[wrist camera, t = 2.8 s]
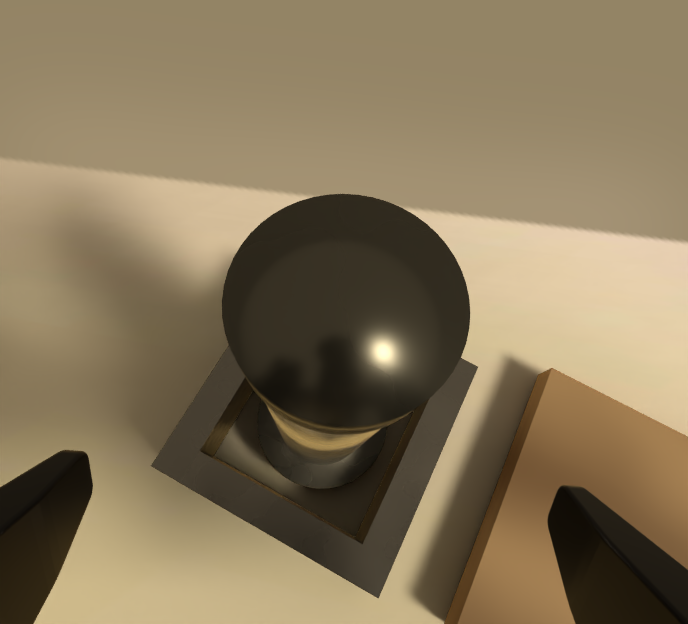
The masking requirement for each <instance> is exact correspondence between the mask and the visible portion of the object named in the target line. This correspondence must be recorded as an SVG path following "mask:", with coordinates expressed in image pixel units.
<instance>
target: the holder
mask: <svg viewBox="0 0 688 624" xmlns="http://www.w3.org/2000/svg"><path fill="white" fill-rule="evenodd" d="M477 368H478V367H477V366H475V365H473V364H472V363H470V362H468V361H466V360H464V359H462V358H460V360H459V362H458V364H457V366H456V367H455V369H454V371H453V373H452V374H451V375H450V377H449V378H448V379H447V381H446V382H445V383H444V385H443V386H442V387H441V388H440V389H439V390H438V391H437V392H436V393H435V394H434V395H433V396H432V397H430V398H429V399H428V400H426V401H425V402H424V403H422V404H421V405H420V406H418V407H417V408H416V409H415V410H414V412H413V414H412V416H411V418H410V421H409V423H408V425H407V427H406V429H405V431H404V433H403V436H402V438H401V440H400V442H399V444H398V446H397V449H396V451H395V453H394V455H393V457H392V459H391V461H390V464H389V466H388V468H387V470H386V472H385V474H384V476H383V479H382V481H381V483H380V485H379V487H378V489H377V491H376V494H375V496H374V498H373V500H372V502H371V504H370V506H369V509H368V511H367V513H366V515H365V517H364V519H363V521H362V524H361V526H360V528H359V530H358V532H357V534H356V536H355V537H354V536H352V535H350V534H349V533H347V532H345V531H343V530H342V529H340V528H338V527H336V526H335V525H333V524H331V523H329V522H328V521H326V520H324V519H322V518H321V517H319V516H317V515H315V514H314V513H312V512H310V511H308V510H307V509H305V508H303V507H301V506H300V505H298V504H296V503H294V502H293V501H291V500H289V499H287V498H286V497H284V496H282V495H280V494H279V493H277V492H275V491H273V490H272V489H270V488H268V487H266V486H265V485H263V484H261V483H259V482H258V481H256V480H254V479H252V478H251V477H249V476H247V475H245V474H244V473H242V472H240V471H238V470H237V469H235V468H233V467H231V466H230V465H228V464H226V463H224V462H223V461H221V460H219V459H217V458H216V457H214V455H215V453H216V451H217V450H218V448H219V446H220V445H221V443H222V441H223V440H224V438H225V436H226V435H227V433H228V431H229V430H230V428H231V426H232V425H233V423H234V422H235V420H236V418H237V417H238V415H239V413H240V412H241V410H242V408H243V407H244V405H245V403H246V402H247V400H248V398H249V397H250V395H251V393H252V392H253V388H252V387H251V385H250V384H249V382H248V381H247V379H246V378H245V376H244V374H243V372H242V371H241V369H240V367H239V365H238V363H237V361H236V359H235V357H234V355H233V353H232V351H231V349H230V346H228V348H227V349H226V351H225V352H224V354H223V355H222V357H221V358H220V360H219V362H218V363H217V365H216V366H215V368H214V369H213V371H212V372H211V374H210V375H209V377H208V379H207V380H206V382H205V383H204V385H203V386H202V388H201V389H200V391H199V392H198V394H197V396H196V397H195V399H194V400H193V402H192V403H191V405H190V406H189V408H188V409H187V411H186V413H185V414H184V416H183V417H182V419H181V420H180V422H179V423H178V425H177V426H176V428H175V430H174V431H173V433H172V434H171V436H170V437H169V439H168V440H167V442H166V443H165V445H164V446H163V448H162V450H161V451H160V453H159V454H158V456H157V457H156V459H155V460H154V462H153V463H152V465H151V466H152V467H154V468H155V469H157V470H159V471H161V472H162V473H164V474H166V475H167V476H169V477H171V478H173V479H174V480H176V481H178V482H179V483H181V484H183V485H185V486H186V487H188V488H190V489H191V490H193V491H195V492H197V493H198V494H200V495H202V496H203V497H205V498H207V499H209V500H210V501H212V502H214V503H215V504H217V505H219V506H221V507H222V508H224V509H226V510H228V511H229V512H231V513H233V514H234V515H236V516H238V517H240V518H241V519H243V520H245V521H246V522H248V523H250V524H252V525H253V526H255V527H257V528H258V529H260V530H262V531H264V532H265V533H267V534H269V535H270V536H272V537H274V538H276V539H277V540H279V541H281V542H282V543H284V544H286V545H288V546H289V547H291V548H293V549H294V550H296V551H298V552H300V553H301V554H303V555H305V556H306V557H308V558H310V559H312V560H313V561H315V562H317V563H318V564H320V565H322V566H324V567H325V568H327V569H329V570H330V571H332V572H334V573H336V574H337V575H339V576H341V577H342V578H344V579H346V580H348V581H349V582H351V583H353V584H354V585H356V586H358V587H360V588H361V589H363V590H365V591H367V592H368V593H370V594H372V595H373V596H375V597H377V598H379V596H380V594H381V591H382V589H383V587H384V584H385V582H386V580H387V577H388V575H389V573H390V570H391V568H392V566H393V563H394V561H395V559H396V556H397V554H398V552H399V549H400V547H401V545H402V542H403V540H404V538H405V535H406V533H407V531H408V528H409V526H410V524H411V522H412V519H413V517H414V515H415V512H416V510H417V508H418V505H419V503H420V501H421V498H422V496H423V494H424V491H425V489H426V487H427V484H428V482H429V480H430V477H431V475H432V473H433V470H434V468H435V466H436V463H437V461H438V459H439V456H440V454H441V452H442V449H443V447H444V445H445V443H446V440H447V438H448V436H449V433H450V431H451V429H452V426H453V424H454V422H455V419H456V417H457V415H458V412H459V410H460V408H461V405H462V403H463V401H464V398H465V396H466V394H467V391H468V389H469V387H470V384H471V382H472V380H473V377H474V375H475V373H476V371H477Z"/></svg>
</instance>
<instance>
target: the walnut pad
mask: <svg viewBox="0 0 688 624" xmlns="http://www.w3.org/2000/svg"><path fill="white" fill-rule="evenodd" d="M562 485H573V486H581V487H584V488H585V489H587V490H588V491H589V492H591V493H592V494H593V495H594V496H596V497H597V498H598V499H599V500H601V501H602V502H603V503H604V504H606V505H607V506H608V507H610V508H611V509H612V510H613V511H615V512H616V513H617V514H618V515H620V516H621V517H622V518H623V519H625V520H626V521H627V522H628V523H630V524H631V525H632V526H634V527H635V528H636V529H637V530H639V531H640V532H641V533H642V534H644V535H645V536H646V537H647V538H649V539H650V540H651V541H653V542H654V543H655V544H656V545H658V546H659V547H660V548H661V549H663V550H664V551H665V552H666V553H668V554H669V555H670V556H671V557H673V558H674V559H675V560H677V561H678V562H679V563H680V564H682V565H683V566H684V567H685V568H687V569H688V437H687V436H685V435H683V434H681V433H679V432H677V431H675V430H673V429H671V428H669V427H667V426H666V425H664V424H662V423H660V422H658V421H656V420H654V419H652V418H650V417H648V416H646V415H644V414H642V413H640V412H638V411H636V410H634V409H632V408H630V407H628V406H626V405H624V404H622V403H620V402H618V401H616V400H614V399H612V398H610V397H608V396H606V395H604V394H602V393H600V392H598V391H596V390H594V389H592V388H590V387H589V386H587V385H585V384H583V383H581V382H579V381H577V380H575V379H573V378H571V377H569V376H567V375H565V374H563V373H561V372H559V371H557V370H555V369H553V368H551V369H549V370H547V371H545V372H543V373H541V374H539V375H538V377H537V380H536V382H535V385H534V388H533V390H532V393H531V396H530V398H529V401H528V403H527V406H526V409H525V411H524V414H523V417H522V419H521V422H520V425H519V427H518V430H517V433H516V435H515V438H514V440H513V443H512V446H511V448H510V451H509V454H508V456H507V459H506V462H505V464H504V467H503V470H502V472H501V475H500V477H499V480H498V483H497V485H496V488H495V491H494V493H493V496H492V499H491V501H490V504H489V507H488V509H487V512H486V514H485V517H484V520H483V522H482V525H481V528H480V530H479V533H478V536H477V538H476V541H475V544H474V546H473V549H472V551H471V554H470V557H469V559H468V562H467V565H466V567H465V570H464V573H463V575H462V578H461V581H460V583H459V586H458V588H457V591H456V594H455V596H454V599H453V602H452V604H451V607H450V610H449V612H448V615H447V618H446V620H445V623H444V624H575V621H574V619H573V616H572V613H571V610H570V607H569V604H568V600H567V597H566V593H565V589H564V586H563V582H562V578H561V574H560V571H559V567H558V563H557V559H556V556H555V552H554V548H553V545H552V541H551V537H550V533H549V529H548V523H547V519H548V513H549V511H550V508H551V505H552V503H553V500H554V498H555V495H556V492H557V490H558V488H559V487H560V486H562Z"/></svg>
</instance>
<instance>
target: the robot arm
mask: <svg viewBox="0 0 688 624" xmlns="http://www.w3.org/2000/svg"><path fill="white" fill-rule="evenodd" d="M92 490H93V482H92V476H91V470H90V464H89V458H88V455H87V454H86V453H85V452H83V451H73V450H63V451H60V452H58V453H56V454H55V455H53V456H51V457H50V458H48V459H46V460H45V461H43V462H41V463H40V464H38V465H36V466H35V467H33V468H31V469H30V470H28V471H26V472H25V473H23V474H22V475H20V476H18V477H17V478H15V479H13V480H12V481H10V482H8V483H7V484H5V485H3V486H2V487H0V624H33V623H34V621H35V620H36V618H37V616H38V614H39V612H40V610H41V608H42V606H43V605H44V603H45V601H46V599H47V597H48V595H49V593H50V591H51V589H52V587H53V585H54V584H55V582H56V580H57V577H58V575H59V573H60V571H61V568H62V566H63V564H64V561H65V559H66V556H67V554H68V552H69V549H70V547H71V544H72V542H73V539H74V537H75V534H76V532H77V530H78V527H79V525H80V522H81V520H82V517H83V515H84V513H85V510H86V508H87V505H88V503H89V500H90V498H91V495H92ZM547 523H548V529H549V533H550V537H551V541H552V545H553V548H554V552H555V556H556V559H557V563H558V567H559V571H560V574H561V578H562V582H563V586H564V589H565V593H566V597H567V600H568V604H569V607H570V610H571V613H572V616H573V619H574V621H575V624H688V569H687V568H685V567H684V566H683V565H682V564H680V563H679V562H678V561H677V560H675V559H674V558H673V557H671V556H670V555H669V554H668V553H666V552H665V551H664V550H663V549H661V548H660V547H659V546H658V545H656V544H655V543H654V542H653V541H651V540H650V539H649V538H647V537H646V536H645V535H644V534H642V533H641V532H640V531H639V530H637V529H636V528H635V527H634V526H632V525H631V524H630V523H628V522H627V521H626V520H625V519H623V518H622V517H621V516H620V515H618V514H617V513H616V512H615V511H613V510H612V509H611V508H610V507H608V506H607V505H606V504H604V503H603V502H602V501H601V500H599V499H598V498H597V497H596V496H594V495H593V494H592V493H591V492H589V491H588V490H587V489H585V488H584V487H581V486H573V485H562V486H560V487H559V488H558V490H557V492H556V495H555V498H554V500H553V503H552V505H551V508H550V511H549V513H548V519H547Z"/></svg>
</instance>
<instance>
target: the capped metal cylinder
mask: <svg viewBox="0 0 688 624" xmlns="http://www.w3.org/2000/svg"><path fill="white" fill-rule="evenodd" d="M222 317H223V323H224V329H225V334H226V337H227V340H228V343H229V346H230V349H231V351H232V353H233V355H234V357H235V359H236V361H237V363H238V365H239V367H240V369H241V371H242V372H243V374H244V376H245V378H246V379H247V381H248V382H249V384H250V385H251V387H252V388H253V390H254V391H255V393H256V394H257V395H258V396H259V397H260V398H261V399H262V400H261V403H260V407H259V411H258V420H257V425H258V435H259V440H260V443H261V446H262V449H263V451H264V453H265V455H266V457H267V458H268V460H269V461H270V463H271V464H272V465H273V466H274V467H275V469H276V470H277V471H279V472H280V473H281V474H282V475H283V476H285V477H286V478H288V479H289V480H291V481H293V482H295V483H297V484H299V485H302V486H305V487H310V488H321V489H325V488H333V487H337V486H341V485H344V484H346V483H349V482H351V481H353V480H354V479H356V478H358V477H359V476H360V475H362V474H363V473H364V472H365V471H366V470H367V469H368V468H369V467H370V466H371V465H372V464H373V462H374V461H375V460H376V458H377V456H378V455H379V453H380V451H381V449H382V446H383V444H384V440H385V436H386V430H387V426H388V425H391V424H393V423H395V422H396V421H398V420H400V419H402V418H404V417H405V416H406V415H408V414H409V413H410V412H412V411H413V410H414V409H416V408H417V407H418V406H420V405H421V404H422V403H424V402H425V401H426V400H428V399H429V398H430V397H432V396H433V395H434V394H435V393H436V392H437V391H438V390H439V389H440V388H441V387H442V386H443V385H444V383H445V382H446V381H447V379H448V378H449V377H450V375H451V374H452V373H453V371H454V369H455V367H456V366H457V364H458V362H459V360H460V358H461V356H462V353H463V350H464V347H465V345H466V341H467V336H468V331H469V323H470V304H469V295H468V291H467V286H466V282H465V279H464V277H463V274H462V271H461V269H460V267H459V265H458V263H457V261H456V259H455V257H454V255H453V254H452V252H451V251H450V249H449V248H448V246H447V245H446V244H445V242H444V241H443V240H442V239H441V238H440V237H439V235H438V234H437V233H436V232H435V231H434V230H433V229H431V228H430V227H429V226H428V225H427V224H426V223H425V222H423V221H422V220H420V219H419V218H418V217H416V216H415V215H413V214H412V213H410V212H408V211H406V210H404V209H403V208H401V207H399V206H396V205H394V204H391V203H389V202H386V201H383V200H380V199H376V198H373V197H367V196H361V195H351V194H334V195H324V196H318V197H313V198H309V199H306V200H302V201H299V202H297V203H294V204H292V205H289V206H287V207H285V208H283V209H281V210H280V211H278V212H276V213H274V214H273V215H271V216H270V217H269V218H267V219H266V220H265V221H263V222H262V223H261V224H260V225H259V226H258V227H257V228H256V229H255V230H254V231H253V232H251V233H250V235H249V236H248V237H247V239H246V240H245V241H244V242H243V244H242V245H241V246H240V248H239V250H238V251H237V253H236V255H235V256H234V258H233V261H232V263H231V265H230V268H229V270H228V273H227V277H226V280H225V284H224V290H223V298H222Z"/></svg>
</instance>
